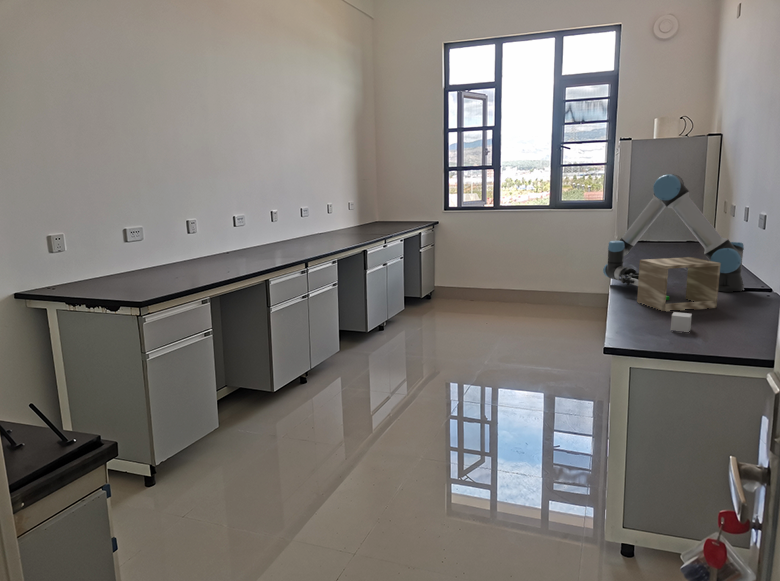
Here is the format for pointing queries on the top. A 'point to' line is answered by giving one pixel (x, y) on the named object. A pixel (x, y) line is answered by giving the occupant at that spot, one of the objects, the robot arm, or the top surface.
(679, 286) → the top surface
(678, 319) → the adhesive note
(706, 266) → the cubby box
